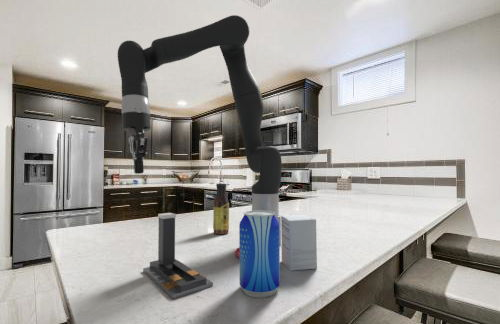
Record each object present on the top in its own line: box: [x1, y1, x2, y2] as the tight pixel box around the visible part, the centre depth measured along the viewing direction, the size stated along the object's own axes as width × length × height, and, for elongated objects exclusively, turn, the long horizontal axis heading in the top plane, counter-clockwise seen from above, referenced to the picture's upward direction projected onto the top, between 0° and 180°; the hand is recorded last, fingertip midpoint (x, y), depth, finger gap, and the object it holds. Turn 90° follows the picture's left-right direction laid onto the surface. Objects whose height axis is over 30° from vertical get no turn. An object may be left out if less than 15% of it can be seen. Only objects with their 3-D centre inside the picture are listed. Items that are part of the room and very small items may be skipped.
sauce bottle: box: [212, 183, 230, 235], centre depth 104 cm, size 7×6×20 cm
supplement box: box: [280, 214, 318, 272], centre depth 68 cm, size 7×7×13 cm
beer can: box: [238, 210, 281, 298], centre depth 54 cm, size 8×8×16 cm
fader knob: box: [157, 212, 176, 269], centre depth 64 cm, size 4×3×13 cm
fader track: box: [142, 258, 214, 300], centre depth 60 cm, size 18×9×2 cm, turn 40°
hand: (139, 173), depth 74 cm, fingers closed
